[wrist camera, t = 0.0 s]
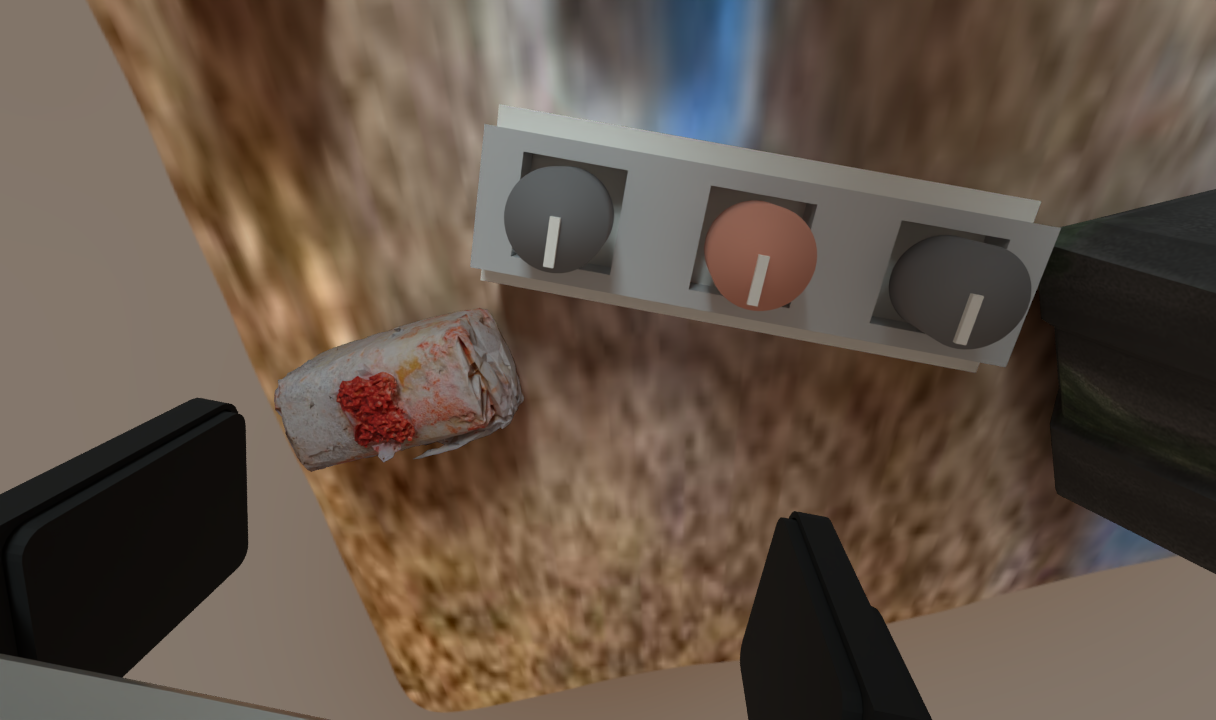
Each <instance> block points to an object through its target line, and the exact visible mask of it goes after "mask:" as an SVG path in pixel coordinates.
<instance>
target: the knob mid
mask: <svg viewBox="0 0 1216 720" xmlns="http://www.w3.org/2000/svg"><path fill="white" fill-rule="evenodd" d="M704 257H705V262H706V265H707V268H708V270H709V272H710V275H711V277H712V279H713V281H714V284H715V285H716V287H717V289H718V290H719V292H720V293H721V294H722V295H723V296H724V297H725V298H726V299H727V300H728V301H730V302H731V303H733V304H735V305H736V306H738V307H741V308H743V309H747V310H753V311H767V310H773V309H777V308H779V307H782V306H784V305H786V304H788V303H790V302H791V301H793V300H794V299H795V298H797V297H798V296H799V295H800V294H801V293H802V292H803V291H804V290H805V288H806V287H807V285H808V284H809V282H810V281H811V279H812V277H813V274H814V271H815V268H816V263H817V247H816V242H815V239H814V236H813V233H812V232H811V230H810V228H809V227H808V225H807V224H806V222H805V221H804V220H803V219H802V218H801V217H799V216H798V215H797V214H795V213H794V212H792V211H790V210H788V209H786V208H783V207H780V206H777V205H775V204H772V203H769V202H765V201H759V200H749V201H743V202H740V203H737V204H735V205H732V206H730V207H729V208H727V209H726V210H724V211H723V212H722V213H721V214H720V215H719V216H718V217H717V218H716V219H715V220H714V221H713V223H712V224H711V226H710V228H709V230H708V232H707V235H706V239H705V244H704Z"/></svg>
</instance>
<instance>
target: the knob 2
mask: <svg viewBox="0 0 1216 720" xmlns="http://www.w3.org/2000/svg"><path fill="white" fill-rule="evenodd" d="M889 296H890V300H891V303H892V305H893V307H894V309H895V311H896V312H897V313H898V314H899V316H900V317H901V318H903V319H904V320H905V321H907V322H908V323H910V324H911V325H913V326H914V327H916V328H918V329H919V330H921V331H922V332H924V333H925V334H927V335H928V336H930V337H932V338H933V339H935V340H936V341H938V342H940V343H941V344H943V345H946V346H948V347H951V348H955V349H977V348H982V347H985V346H988V345H991V344H993V343H995V342H997V341H999V340H1001V339H1002V338H1004V337H1005V336H1006V335H1008V334H1009V333H1010V332H1011V331H1012V330H1013V329H1014V328H1015V327H1016V326H1017V325H1018V324H1019V323H1020V321H1021V320H1022V318H1023V317H1024V315H1025V313H1026V311H1027V309H1028V306H1029V303H1030V298H1031V280H1030V276H1029V273H1028V271H1027V268H1026V267H1025V265H1024V264H1023V262H1022V261H1021V260H1020V259H1019V258H1018V257H1017V256H1016V255H1015V254H1013V253H1012V252H1010V251H1009V250H1007V249H1004V248H1002V247H999V246H995V245H991V244H986V243H982V242H978V241H974V240H970V239H966V238H962V237H958V236H953V235H938V236H933V237H929V238H926V239H924V240H921V241H919V242H917V243H916V244H914V245H913V246H911V247H910V248H909V249H908V250H906V251H905V252H904V253H903V254H902V256H901V257H900V258H899V259H898V261H897V262H896V264H895V266H894V268H893V270H892V273H891V276H890V280H889Z"/></svg>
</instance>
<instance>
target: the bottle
mask: <svg viewBox="0 0 1216 720" xmlns="http://www.w3.org/2000/svg"><path fill="white" fill-rule="evenodd" d="M1039 297H1040V309H1041V319H1043V320H1044V321H1046V322H1047V323H1049V324H1051V325H1052V326H1054V329H1055V342H1056V354H1057V367H1058V380H1059V390H1058V394H1057V398H1056V402H1055V406H1054V410H1053V414H1052V418H1051V422H1050V430H1051V442H1052V454H1053V466H1054V478H1055V489H1056V491H1057V494H1059V495H1061V496H1062V497H1064V498H1066V499H1068V500H1070V501H1072V502H1074V503H1076V504H1078V505H1080V506H1082V507H1084V508H1086V509H1088V510H1090V511H1092V512H1094V513H1096V514H1098V515H1100V516H1102V517H1104V518H1106V519H1108V520H1110V521H1112V522H1114V523H1116V524H1118V525H1120V526H1122V527H1124V528H1126V529H1128V530H1130V531H1132V532H1134V533H1136V534H1138V535H1140V536H1141V537H1143V538H1145V539H1147V540H1149V541H1151V542H1153V543H1155V544H1157V545H1159V546H1161V547H1163V548H1165V549H1167V550H1169V551H1171V552H1173V553H1175V554H1177V555H1179V556H1181V557H1183V558H1185V559H1187V560H1189V561H1191V562H1193V563H1195V564H1197V565H1199V566H1201V567H1203V568H1205V569H1207V570H1209V571H1211V572H1213V573H1215V574H1216V189H1214V190H1210V191H1206V192H1202V193H1198V194H1194V195H1190V196H1186V197H1182V198H1178V199H1174V200H1170V201H1166V202H1162V203H1158V204H1154V205H1150V206H1146V207H1142V208H1137V209H1133V210H1129V211H1125V212H1121V213H1117V214H1113V215H1109V216H1105V217H1101V218H1097V219H1093V220H1089V221H1085V222H1081V223H1077V224H1073V225H1069V226H1065V227H1061V230H1060V232H1059V235H1058V237H1057V240H1056V242H1055V245H1054V247H1053V250H1052V252H1051V255H1050V257H1049V260H1048V262H1047V265H1046V267H1045V270H1044V272H1043V275H1042V277H1041V280H1040V282H1039Z"/></svg>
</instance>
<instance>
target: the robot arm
mask: <svg viewBox="0 0 1216 720" xmlns="http://www.w3.org/2000/svg"><path fill="white" fill-rule="evenodd" d="M245 427H246V426H245V420H244V417H243V416H242V415H240V414H238V411H237V409H236V407H235V406H234V405H232V404H229V403H223V402H218V401H213V400H207V399H203V398H195V399H192V400H189V401H188V402H185V403H183V404H181V405H179V406H177V407H175V408H173V409H171V410H169V411H167V412H165V413H163V414H161V415H159V416H157V417H155V418H153V419H151V420H149V421H147V422H145V423H143V424H141V425H139V426H137V427H135V428H133V429H131V430H129V431H127V432H125V433H123V434H121V435H119V436H117V437H115V438H113V439H111V440H109V441H107V442H105V443H103V444H101V445H99V446H97V447H95V448H93V449H91V450H89V451H87V452H85V453H83V454H81V455H79V456H77V457H75V458H73V459H71V460H69V461H67V462H65V463H63V464H61V465H59V466H57V467H55V468H53V469H50V470H49V471H47V472H44V473H43V474H40V475H38V476H36V477H34V478H32V479H30V480H28V481H26V482H24V483H22V484H20V485H18V486H16V487H14V488H12V489H10V490H8V491H6V492H4V493H2V494H0V720H329V719H324V718H320V717H315V716H310V715H305V714H300V713H295V712H290V711H285V710H280V709H275V708H270V707H266V706H261V705H256V704H251V703H246V702H241V701H236V700H231V699H227V698H222V697H217V696H212V695H207V694H202V693H197V692H192V691H187V690H182V689H177V688H172V687H167V686H161V685H157V684H152V683H147V682H141V681H136V680H131V679H126V678H122V677H123V676H124V675H125V674H126V673H128V671H129V670H131V669H132V668H133V667H134V666H135V665H136V664H137V663H138V662H139V661H140V660H141V659H142V658H143V657H144V656H145V655H147V654H148V653H149V652H150V651H151V650H152V649H153V648H154V647H155V646H156V645H157V644H158V643H159V642H160V641H161V640H162V639H163V638H164V637H166V636H167V635H168V634H169V633H170V632H171V631H172V630H173V629H174V628H175V627H176V626H177V625H178V624H179V623H180V622H181V621H182V620H183V619H185V618H186V617H187V616H188V615H189V614H190V613H191V612H192V611H193V610H194V609H195V608H196V607H197V606H198V605H199V604H200V603H201V602H202V601H204V599H206V598H207V597H208V596H209V595H210V594H211V593H212V592H213V591H214V590H215V589H216V588H217V587H218V586H219V585H220V584H221V583H223V582H224V581H225V580H226V579H227V578H228V577H229V576H230V575H231V574H232V573H233V572H234V571H235V570H236V569H237V568H238V567H239V566H240V565H241V563H242V562H243V560H244V558H245V556H246V553H247V549H248V514H247V471H246V428H245ZM740 666H741V673H742V680H743V686H744V693H745V700H746V706H747V713H748V719H749V720H932V719H931V716H930V714H929V712H928V710H927V708H926V706H925V704H924V702H923V700H922V698H921V696H920V694H919V692H918V689H917V687H916V685H915V683H914V681H913V679H912V677H911V675H910V673H909V671H908V669H907V667H906V665H905V663H904V661H903V659H902V657H901V655H900V653H899V650H898V648H897V646H896V644H895V642H894V640H893V638H892V636H891V634H890V632H889V630H888V628H887V626H886V624H885V622H884V619H883V617H882V616H881V614H880V613H879V611H878V610H877V609H876V608H874V607H872V606H871V605H870V603H869V601H868V599H867V597H866V595H865V593H864V590H863V588H862V586H861V584H860V582H859V580H858V578H857V576H856V574H855V571H854V569H853V567H852V565H851V563H850V561H849V559H848V557H847V554H846V552H845V550H844V548H843V546H842V544H841V542H840V540H839V537H838V535H837V533H836V531H835V529H834V527H833V525H832V523H831V521H830V519H829V518H827V517H823V516H817V515H812V514H807V513H802V512H796V511H794V512H792V514H791V515H790V517H789V519H788V518H782V517H781V518H780V519H779V520H778V522H777V525H776V528H775V531H774V535H773V538H772V542H771V545H770V549H769V552H768V556H767V559H766V562H765V566H764V569H763V573H762V576H761V580H760V583H759V586H758V590H757V593H756V597H755V600H754V604H753V607H752V610H751V614H750V617H749V621H748V624H747V628H746V631H745V635H744V638H743V641H742V646H741V653H740Z"/></svg>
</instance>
